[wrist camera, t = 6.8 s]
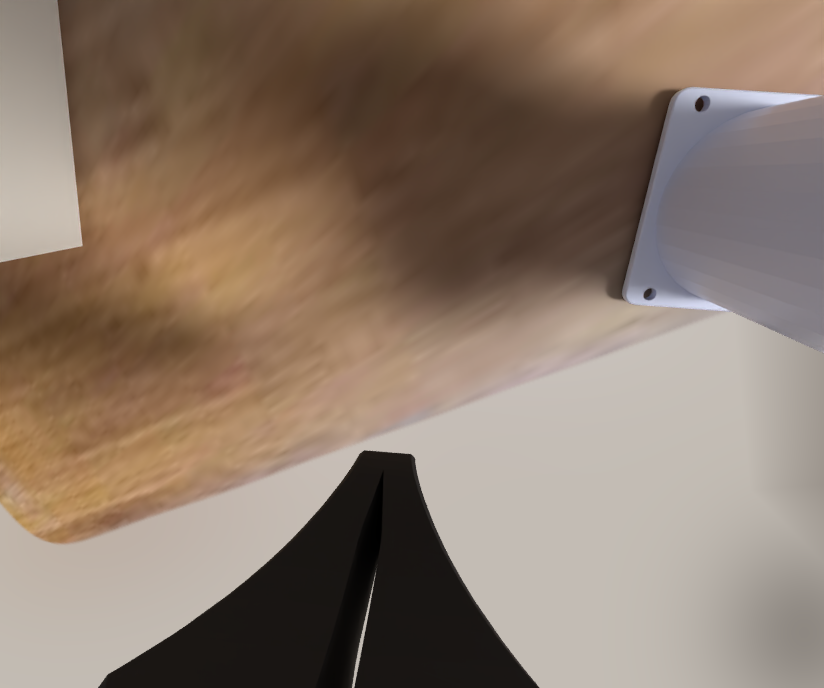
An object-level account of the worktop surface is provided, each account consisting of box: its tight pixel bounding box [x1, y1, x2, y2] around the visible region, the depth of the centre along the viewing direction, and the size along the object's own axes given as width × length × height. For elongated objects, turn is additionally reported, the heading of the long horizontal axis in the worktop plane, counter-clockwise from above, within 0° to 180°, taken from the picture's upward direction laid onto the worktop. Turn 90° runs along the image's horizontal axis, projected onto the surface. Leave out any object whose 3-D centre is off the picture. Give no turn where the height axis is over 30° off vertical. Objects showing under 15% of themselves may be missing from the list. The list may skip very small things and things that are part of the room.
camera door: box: [0, 0, 83, 262], centre depth 15 cm, size 10×1×4 cm, turn 169°
